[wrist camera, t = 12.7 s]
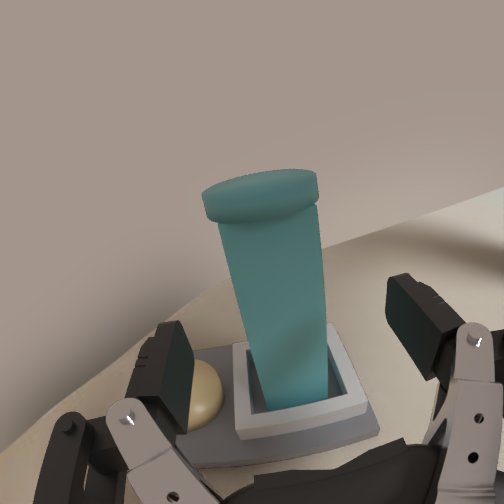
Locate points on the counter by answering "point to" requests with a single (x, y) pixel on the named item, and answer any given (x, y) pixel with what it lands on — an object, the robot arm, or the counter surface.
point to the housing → (260, 419)
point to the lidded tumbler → (277, 278)
